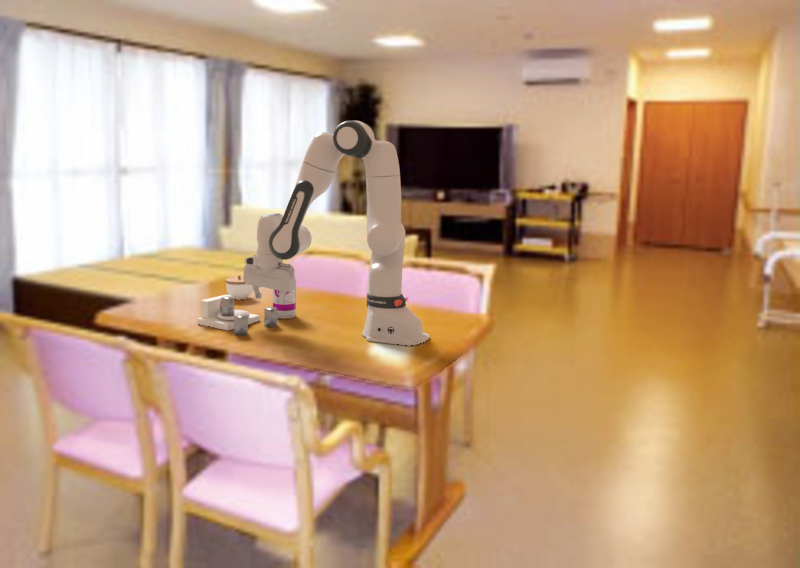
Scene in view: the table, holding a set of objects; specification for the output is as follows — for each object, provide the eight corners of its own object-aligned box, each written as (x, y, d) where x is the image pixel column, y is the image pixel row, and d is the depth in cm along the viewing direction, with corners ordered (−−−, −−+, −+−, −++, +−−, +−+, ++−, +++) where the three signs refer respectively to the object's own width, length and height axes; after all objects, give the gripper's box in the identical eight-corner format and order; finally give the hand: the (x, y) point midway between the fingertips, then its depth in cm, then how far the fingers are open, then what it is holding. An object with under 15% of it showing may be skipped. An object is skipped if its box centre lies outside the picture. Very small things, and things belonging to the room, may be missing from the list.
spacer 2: (250, 333, 231) (250, 315, 230) (241, 336, 227) (241, 318, 226) (240, 331, 233) (240, 313, 232) (231, 334, 229) (230, 316, 228)
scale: (260, 321, 247) (260, 299, 245) (229, 330, 233) (228, 307, 231) (229, 315, 253) (229, 293, 252) (197, 324, 240) (196, 301, 238)
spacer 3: (279, 325, 242) (279, 308, 241) (271, 327, 238) (271, 310, 237) (269, 323, 244) (269, 306, 243) (261, 325, 241) (261, 308, 239)
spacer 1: (237, 314, 240) (236, 297, 239) (228, 317, 236) (227, 299, 235) (227, 312, 242) (227, 295, 241) (218, 315, 238) (218, 298, 237)
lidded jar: (240, 294, 288) (240, 271, 286) (258, 298, 282) (258, 275, 280) (220, 298, 280) (219, 275, 278) (238, 302, 273) (238, 278, 272)
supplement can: (291, 320, 249) (291, 279, 246) (269, 318, 251) (269, 277, 248) (298, 315, 257) (299, 275, 254) (277, 313, 259) (277, 273, 256)
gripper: (300, 263, 235) (298, 303, 238) (253, 256, 244) (252, 294, 247) (288, 266, 229) (287, 307, 232) (240, 258, 239) (240, 297, 242)
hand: (268, 300), depth 240 cm, fingers open, 8 cm apart
